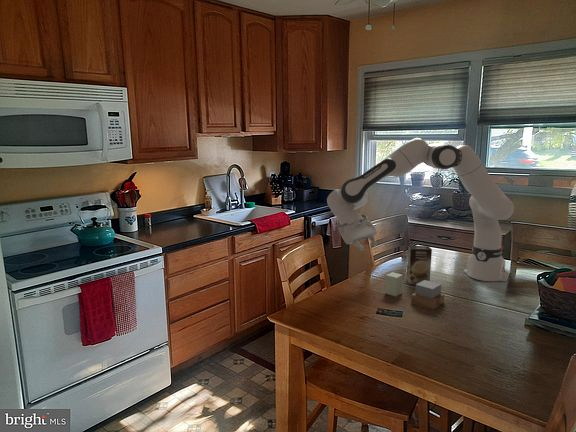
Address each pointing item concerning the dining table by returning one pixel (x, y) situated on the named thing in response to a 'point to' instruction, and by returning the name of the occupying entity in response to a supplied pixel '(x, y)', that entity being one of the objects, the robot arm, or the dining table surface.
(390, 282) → the sage block
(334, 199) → the robot arm
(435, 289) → the tower top
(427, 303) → the tower base
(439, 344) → the dining table surface
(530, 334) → the dining table surface
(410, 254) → the coffee box
